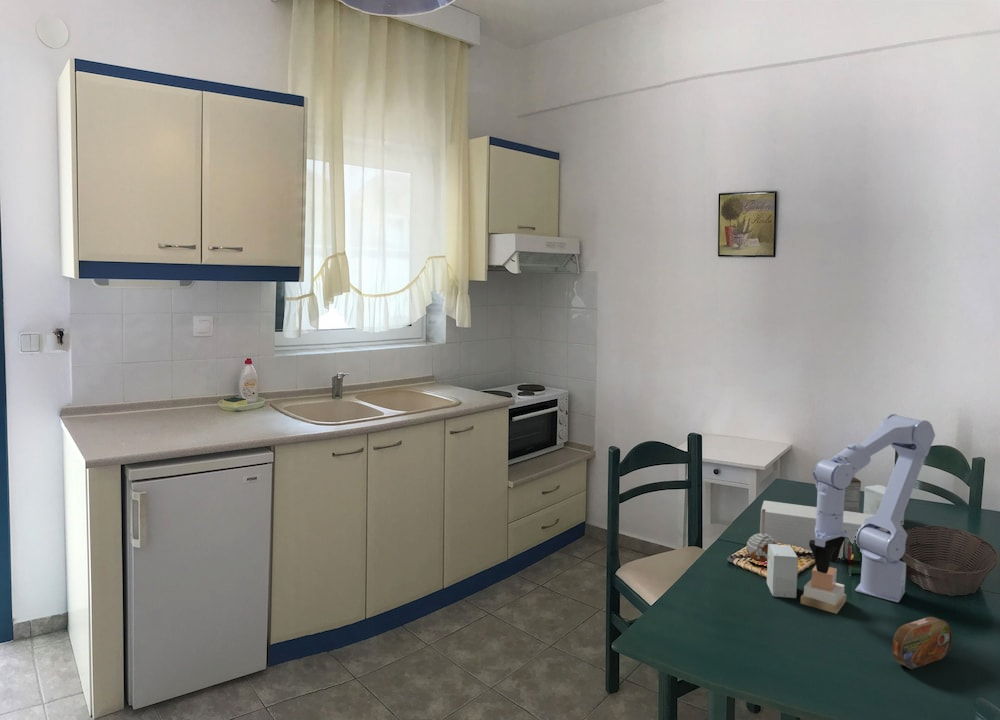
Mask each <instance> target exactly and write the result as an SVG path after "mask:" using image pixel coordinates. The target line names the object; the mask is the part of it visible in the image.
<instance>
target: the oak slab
mask: <svg viewBox="0 0 1000 720" xmlns="http://www.w3.org/2000/svg"><path fill="white" fill-rule="evenodd" d="M846 602H847V593H846V594H845V593H844V595H843V597H842V598H841V599H840V600H839V601H838V602H837V604H836V605H833V604H829V603H826V602H822V601H819V600H816V599H812V598H809V597H806V596H804V592H803V593H802V594H801V596H800V604H802V605H805V606H808V607H813V608H816V609H819V610H822V611H826V612H829V613H833V614H835V615H836V614H838V613H839V611H840V610H841V609H842V607H844V605H845V603H846Z"/></svg>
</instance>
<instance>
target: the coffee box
mask: <svg viewBox="0 0 1000 720" xmlns="http://www.w3.org/2000/svg"><path fill="white" fill-rule="evenodd" d="M861 485H862V481H861V480H860V479H858V478H856V477H855V476H854V477H853V478H852V480H851V483H850V484H849V486H848V487H846V488H845V496H844V511H849V512H857V513H860V502H861V501H860V499H861Z"/></svg>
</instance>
